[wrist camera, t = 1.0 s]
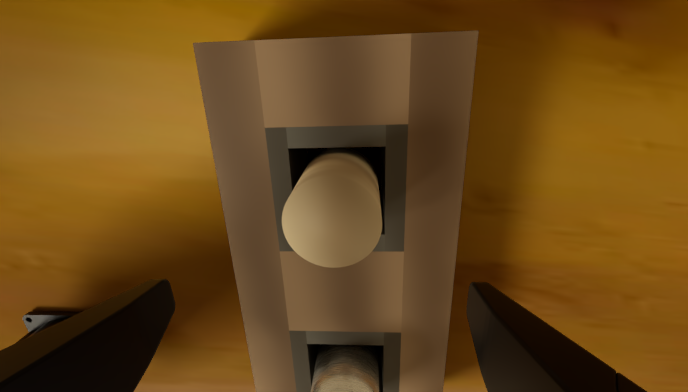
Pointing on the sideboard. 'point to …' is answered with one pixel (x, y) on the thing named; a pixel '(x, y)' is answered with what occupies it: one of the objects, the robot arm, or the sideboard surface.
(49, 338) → the robot arm
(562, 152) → the sideboard surface
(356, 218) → the beech peg
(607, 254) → the sideboard surface
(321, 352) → the metal peg
